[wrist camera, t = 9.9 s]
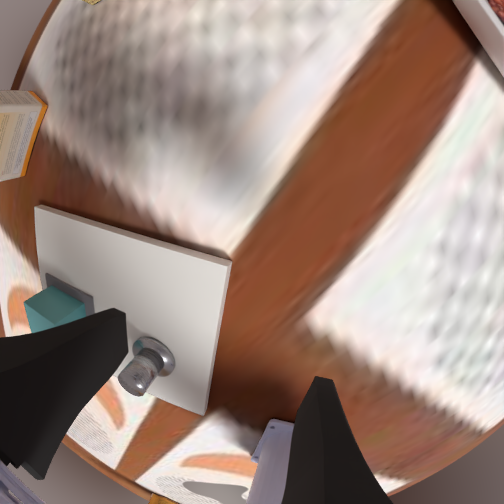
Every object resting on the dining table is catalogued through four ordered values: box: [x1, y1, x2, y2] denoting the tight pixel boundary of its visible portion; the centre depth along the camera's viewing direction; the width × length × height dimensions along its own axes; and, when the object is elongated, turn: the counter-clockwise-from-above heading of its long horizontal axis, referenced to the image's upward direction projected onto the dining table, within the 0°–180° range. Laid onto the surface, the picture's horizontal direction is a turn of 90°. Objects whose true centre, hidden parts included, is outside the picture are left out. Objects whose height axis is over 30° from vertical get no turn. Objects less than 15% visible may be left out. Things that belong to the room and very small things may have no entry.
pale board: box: [34, 205, 232, 416], centre depth 22 cm, size 16×20×1 cm
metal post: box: [118, 336, 176, 396], centre depth 20 cm, size 4×4×4 cm
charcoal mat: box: [45, 273, 95, 316], centre depth 23 cm, size 7×7×1 cm
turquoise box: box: [24, 285, 86, 333], centre depth 21 cm, size 5×5×4 cm
